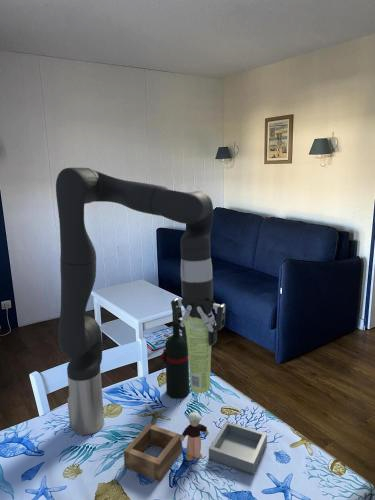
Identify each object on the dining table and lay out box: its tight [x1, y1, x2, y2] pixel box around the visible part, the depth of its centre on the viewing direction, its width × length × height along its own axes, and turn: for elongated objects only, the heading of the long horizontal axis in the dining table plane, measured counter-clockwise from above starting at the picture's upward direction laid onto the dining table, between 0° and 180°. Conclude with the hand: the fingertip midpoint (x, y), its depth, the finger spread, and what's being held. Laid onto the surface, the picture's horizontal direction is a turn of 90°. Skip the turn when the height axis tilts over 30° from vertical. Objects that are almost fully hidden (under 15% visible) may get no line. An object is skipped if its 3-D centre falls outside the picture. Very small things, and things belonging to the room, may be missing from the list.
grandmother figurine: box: [180, 411, 210, 462], centre depth 99 cm, size 8×4×13 cm, turn 117°
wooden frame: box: [123, 423, 183, 483], centre depth 98 cm, size 10×12×5 cm
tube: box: [184, 316, 212, 394], centre depth 94 cm, size 6×5×20 cm
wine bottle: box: [159, 312, 191, 400], centre depth 125 cm, size 8×10×30 cm
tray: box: [208, 421, 268, 477], centre depth 100 cm, size 12×12×4 cm
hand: (199, 341), depth 93 cm, fingers closed on tube, 6 cm apart
